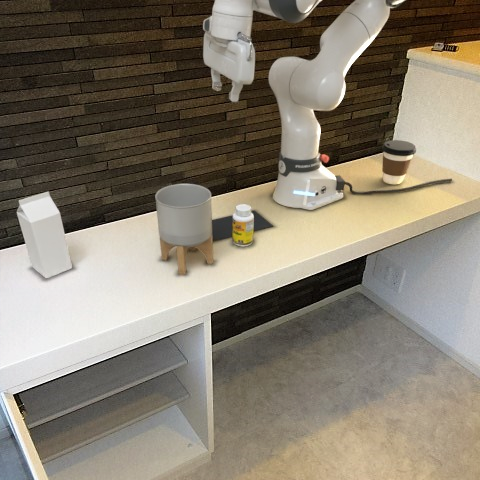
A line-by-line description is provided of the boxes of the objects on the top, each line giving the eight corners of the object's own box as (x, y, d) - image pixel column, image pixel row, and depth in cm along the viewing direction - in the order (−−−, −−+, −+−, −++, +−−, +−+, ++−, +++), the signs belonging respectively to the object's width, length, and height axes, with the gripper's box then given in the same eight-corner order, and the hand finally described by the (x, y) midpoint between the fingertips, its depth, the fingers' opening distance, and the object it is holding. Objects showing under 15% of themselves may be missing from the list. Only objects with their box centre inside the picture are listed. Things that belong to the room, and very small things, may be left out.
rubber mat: (254, 211, 149) (254, 210, 149) (273, 226, 142) (273, 225, 141) (192, 225, 142) (192, 224, 141) (209, 242, 134) (209, 241, 134)
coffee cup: (378, 186, 164) (385, 150, 157) (373, 174, 173) (379, 139, 165) (412, 187, 164) (420, 151, 157) (404, 174, 173) (412, 139, 165)
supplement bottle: (228, 241, 135) (228, 206, 128) (244, 235, 137) (245, 200, 131) (240, 249, 131) (240, 214, 125) (257, 243, 134) (258, 208, 128)
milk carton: (72, 268, 123) (56, 196, 111) (46, 279, 119) (26, 205, 107) (58, 257, 127) (41, 186, 115) (32, 267, 123) (11, 195, 111)
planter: (155, 272, 122) (148, 204, 111) (168, 246, 132) (163, 181, 121) (207, 276, 121) (205, 209, 110) (217, 249, 131) (215, 185, 120)
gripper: (266, 38, 104) (256, 108, 112) (224, 21, 118) (219, 84, 126) (239, 37, 101) (231, 108, 110) (200, 19, 115) (196, 84, 124)
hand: (224, 95), depth 118 cm, fingers open, 8 cm apart
